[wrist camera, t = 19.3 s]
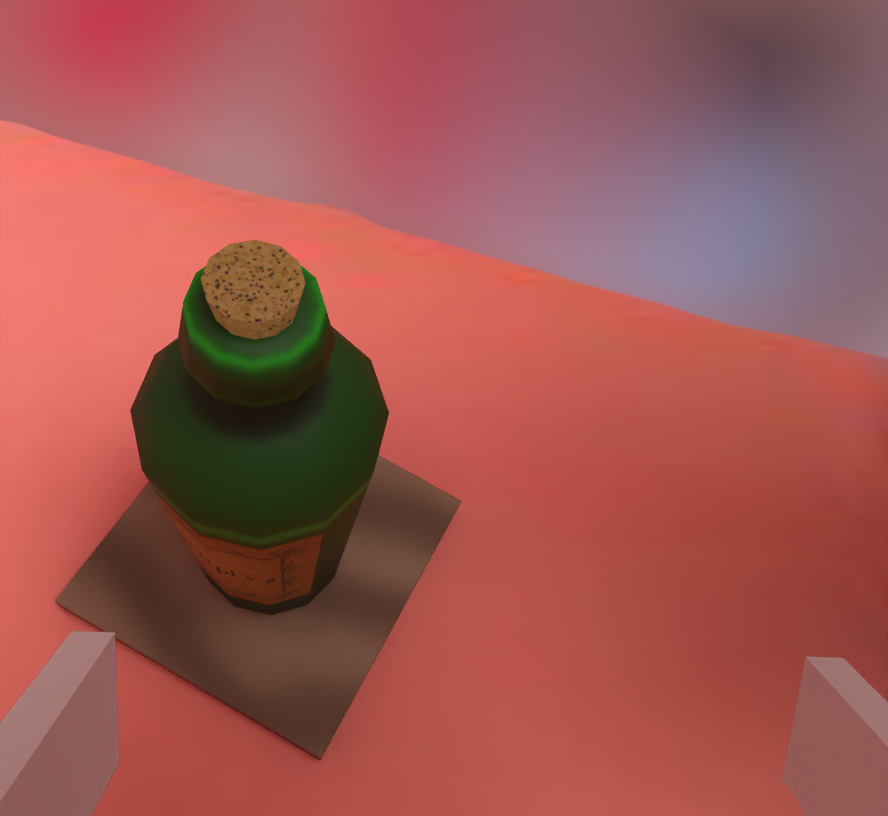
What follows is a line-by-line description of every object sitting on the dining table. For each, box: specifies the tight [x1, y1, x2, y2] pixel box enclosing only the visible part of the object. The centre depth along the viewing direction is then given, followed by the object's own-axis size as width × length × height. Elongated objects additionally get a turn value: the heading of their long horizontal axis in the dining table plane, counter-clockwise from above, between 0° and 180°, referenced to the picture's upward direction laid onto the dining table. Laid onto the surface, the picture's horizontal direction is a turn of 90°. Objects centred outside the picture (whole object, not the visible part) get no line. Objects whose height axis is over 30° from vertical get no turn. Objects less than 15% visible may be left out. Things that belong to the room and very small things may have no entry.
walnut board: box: [55, 455, 461, 760], centre depth 51 cm, size 18×18×2 cm
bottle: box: [130, 240, 389, 615], centre depth 38 cm, size 11×11×28 cm
